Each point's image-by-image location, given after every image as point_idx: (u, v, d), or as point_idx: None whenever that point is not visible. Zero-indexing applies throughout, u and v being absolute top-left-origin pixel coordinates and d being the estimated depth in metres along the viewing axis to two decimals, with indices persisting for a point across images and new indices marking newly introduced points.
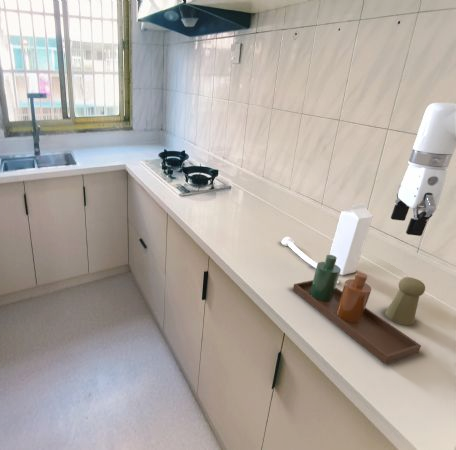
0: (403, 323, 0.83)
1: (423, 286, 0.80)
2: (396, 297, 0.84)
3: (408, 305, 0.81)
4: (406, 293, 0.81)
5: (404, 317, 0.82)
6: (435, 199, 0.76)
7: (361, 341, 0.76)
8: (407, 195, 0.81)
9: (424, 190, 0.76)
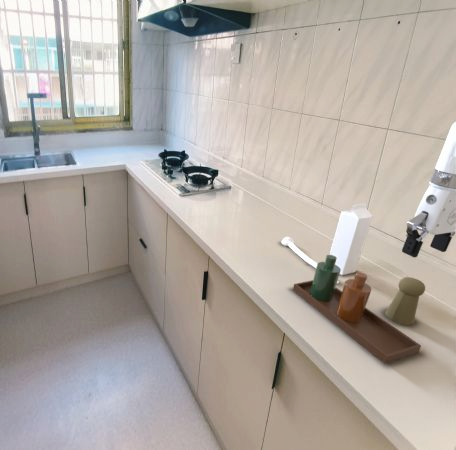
0: (403, 323, 0.83)
1: (423, 286, 0.80)
2: (396, 297, 0.84)
3: (408, 305, 0.81)
4: (406, 293, 0.81)
5: (404, 317, 0.82)
6: (431, 220, 0.71)
7: (361, 341, 0.76)
8: None
9: (421, 208, 0.73)
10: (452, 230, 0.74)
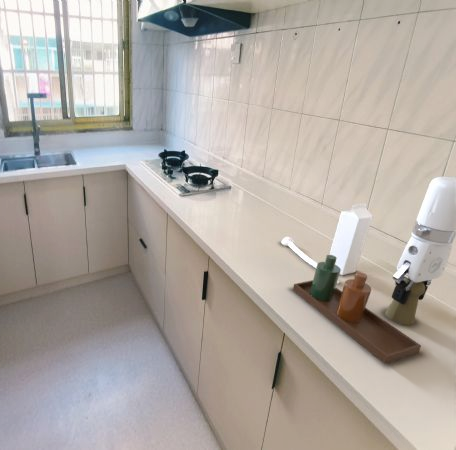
0: (403, 323, 0.83)
1: (423, 286, 0.80)
2: None
3: (407, 305, 0.81)
4: None
5: (404, 317, 0.82)
6: (413, 269, 0.76)
7: (361, 341, 0.76)
8: None
9: (404, 257, 0.78)
10: (434, 277, 0.78)
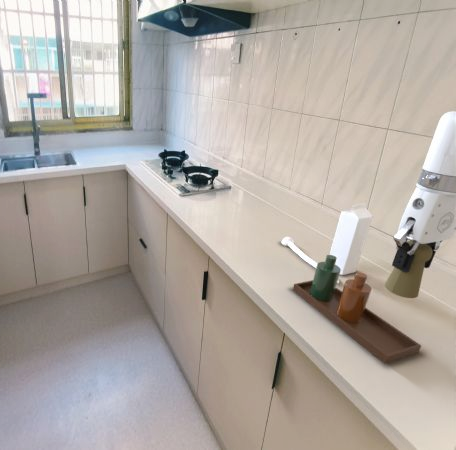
0: (406, 296, 0.69)
1: (430, 250, 0.66)
2: None
3: (411, 273, 0.68)
4: None
5: (406, 289, 0.69)
6: (418, 227, 0.62)
7: (361, 341, 0.76)
8: None
9: (408, 213, 0.64)
10: (443, 238, 0.65)
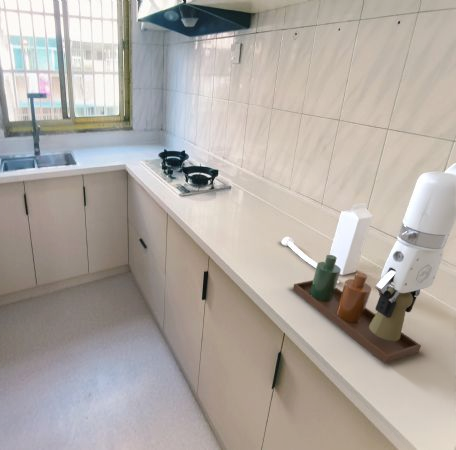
0: (388, 338, 0.73)
1: (410, 297, 0.70)
2: None
3: (393, 318, 0.72)
4: None
5: (389, 332, 0.73)
6: (398, 278, 0.66)
7: (361, 341, 0.76)
8: None
9: (389, 264, 0.68)
10: (422, 287, 0.69)
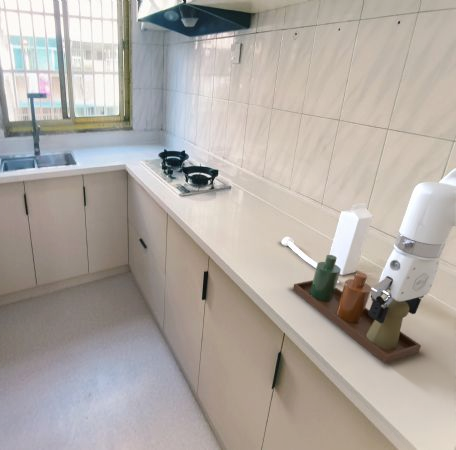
0: (385, 347, 0.74)
1: (407, 307, 0.71)
2: None
3: (390, 327, 0.73)
4: (388, 314, 0.72)
5: (386, 341, 0.74)
6: (395, 287, 0.67)
7: (361, 341, 0.76)
8: None
9: (386, 272, 0.69)
10: (419, 295, 0.69)
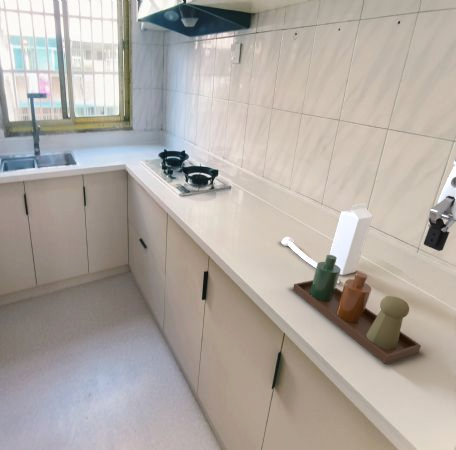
0: (385, 347, 0.74)
1: (407, 307, 0.71)
2: (377, 318, 0.75)
3: (390, 327, 0.73)
4: (388, 314, 0.72)
5: (386, 341, 0.74)
6: None
7: (361, 341, 0.76)
8: None
9: (446, 192, 0.62)
10: None
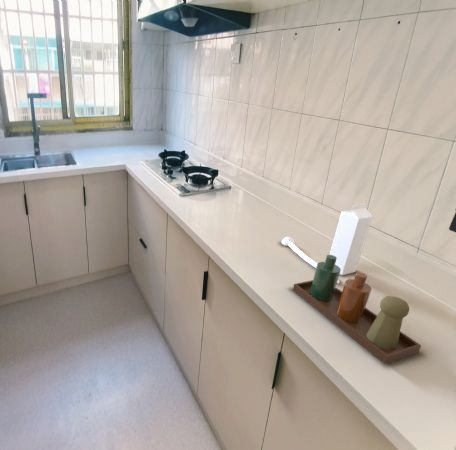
0: (385, 347, 0.74)
1: (407, 307, 0.71)
2: (377, 318, 0.75)
3: (390, 327, 0.73)
4: (388, 314, 0.72)
5: (386, 341, 0.74)
6: None
7: (361, 341, 0.76)
8: None
9: None
10: None
